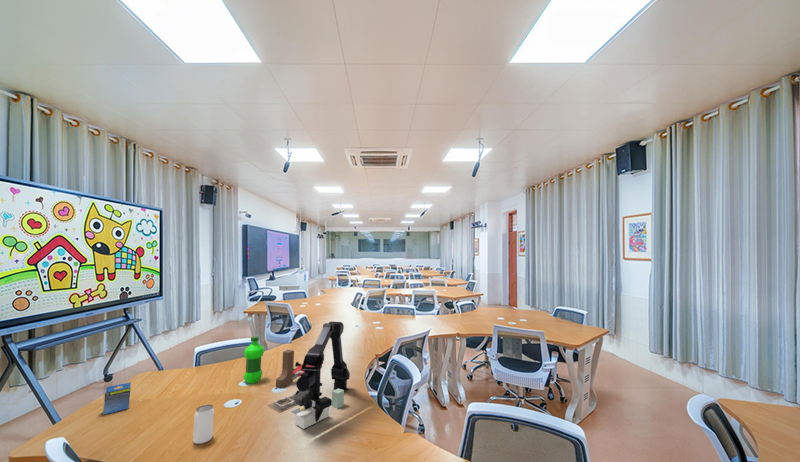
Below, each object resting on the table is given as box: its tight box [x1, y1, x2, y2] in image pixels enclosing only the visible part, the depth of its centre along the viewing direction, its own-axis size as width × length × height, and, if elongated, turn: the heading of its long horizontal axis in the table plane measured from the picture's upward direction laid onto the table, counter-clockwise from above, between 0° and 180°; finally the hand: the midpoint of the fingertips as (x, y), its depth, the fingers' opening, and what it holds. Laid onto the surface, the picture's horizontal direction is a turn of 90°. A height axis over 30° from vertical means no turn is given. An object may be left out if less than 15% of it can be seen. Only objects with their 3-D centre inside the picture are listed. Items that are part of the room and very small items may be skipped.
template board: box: [291, 401, 315, 414], centre depth 144 cm, size 14×9×3 cm, turn 142°
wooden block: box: [275, 349, 295, 389], centre depth 174 cm, size 9×4×18 cm, turn 157°
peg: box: [331, 388, 345, 410], centre depth 148 cm, size 4×4×8 cm
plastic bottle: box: [243, 336, 265, 385], centre depth 178 cm, size 10×10×25 cm
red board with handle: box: [293, 361, 312, 379], centre depth 194 cm, size 30×3×15 cm
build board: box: [267, 393, 298, 414], centre depth 152 cm, size 22×11×2 cm, turn 142°
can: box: [192, 404, 215, 445], centre depth 122 cm, size 6×6×12 cm
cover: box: [294, 406, 330, 430], centre depth 134 cm, size 13×6×4 cm, turn 142°
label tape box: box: [102, 381, 132, 415], centre depth 144 cm, size 9×4×12 cm, turn 135°
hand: (312, 418), depth 134 cm, fingers closed on cover, 6 cm apart
